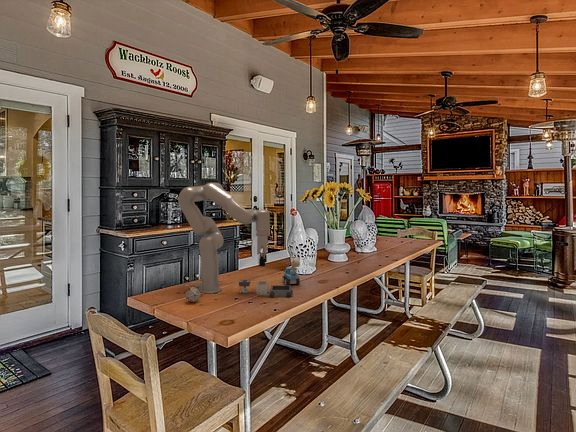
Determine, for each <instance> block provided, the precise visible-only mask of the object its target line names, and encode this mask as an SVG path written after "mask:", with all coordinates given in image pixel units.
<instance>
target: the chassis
mask: <svg viewBox="0 0 576 432" xmlns="http://www.w3.org/2000/svg"><path fill="white" fill-rule="evenodd" d="M293 293H294V289H292V284H289V285H285V284H284V285H283V284H282V285H281V284H279V285H278V284H277V285H274V284H273V285H270V289H268V295H267V296H268V298H269V297H270V298H274V297H275V298H278V297H281V298H282V297H285V298H293V296H294V294H293Z"/></svg>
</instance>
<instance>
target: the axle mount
mask: <svg viewBox="0 0 576 432" xmlns="http://www.w3.org/2000/svg"><path fill="white" fill-rule="evenodd" d="M249 293H250V288H248V287H247V286H242V288H240V294H242V295H246V294H249Z"/></svg>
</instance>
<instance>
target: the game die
mask: <svg viewBox="0 0 576 432" xmlns="http://www.w3.org/2000/svg"><path fill="white" fill-rule="evenodd" d="M199 288H200V287H195V286H193V285H191V286H190V287H189V288H188V290H187V291H184V292H183V293H184V294H185V296H186V300H187V303H188V302H192V303H194V304H196V302H197V301H199V299H200V298H201V297H203V295H201V292H200V290H199Z"/></svg>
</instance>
